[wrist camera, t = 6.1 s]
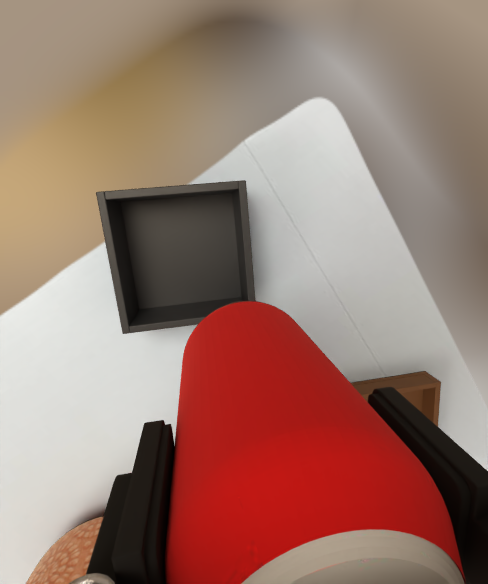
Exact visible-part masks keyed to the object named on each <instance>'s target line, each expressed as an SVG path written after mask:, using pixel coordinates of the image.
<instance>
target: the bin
mask: <svg viewBox="0 0 488 584" xmlns="http://www.w3.org/2000/svg"><path fill="white" fill-rule="evenodd" d="M96 195H97V200H98V205H99V211H100V216H101V221H102V227H103V232H104V237H105V243H106V248H107V253H108V258H109V264H110V269H111V274H112V280H113V285H114V290H115V295H116V301H117V306H118V311H119V316H120V322H121V327H122V332H123V334H126V333H134V332H142V331H149V330H157V329H165V328H173V327H181V326H188V325H196V324H199V323H200V322H201V321H202V320H203V319H204V318H205V317H206V316H207V315H209V314H210V313H211V312H213V311H214V310H216V309H218V308H220V307H222V306H224V305H227V304H230V303H233V302H239V301H255V290H254V278H253V265H252V253H251V240H250V228H249V215H248V203H247V190H246V181H245V180H244V181H231V182H218V183H206V184H193V185H180V186H168V187H155V188H141V189H129V190H117V191H116V190H115V191H105V192H96Z"/></svg>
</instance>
